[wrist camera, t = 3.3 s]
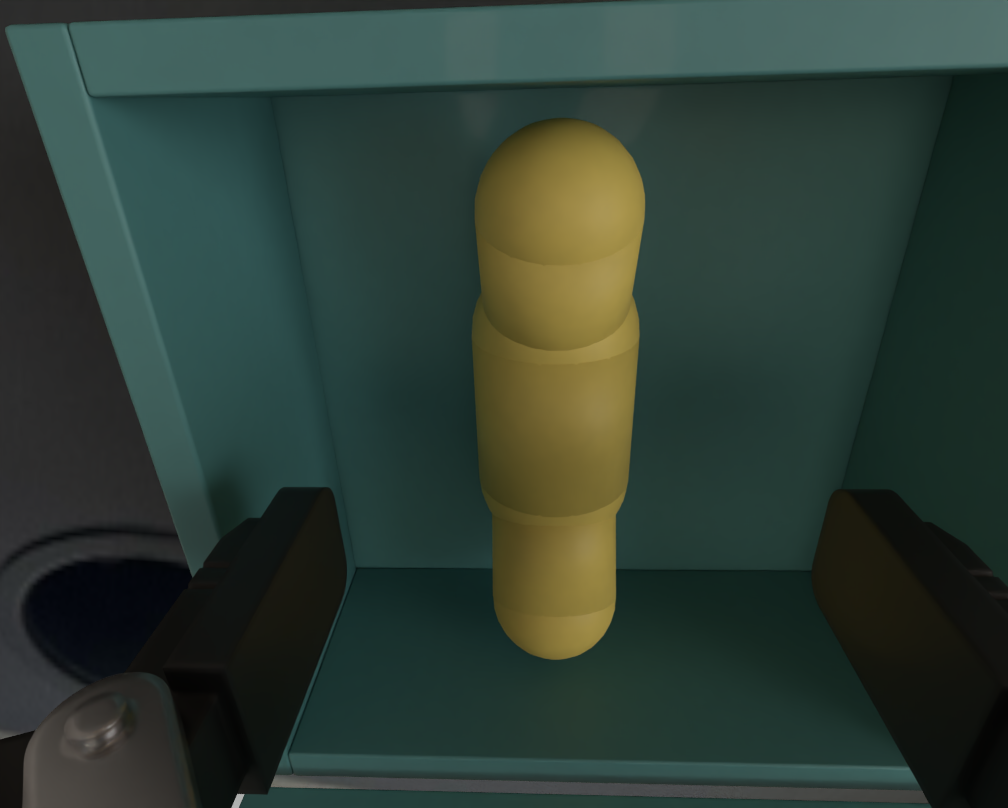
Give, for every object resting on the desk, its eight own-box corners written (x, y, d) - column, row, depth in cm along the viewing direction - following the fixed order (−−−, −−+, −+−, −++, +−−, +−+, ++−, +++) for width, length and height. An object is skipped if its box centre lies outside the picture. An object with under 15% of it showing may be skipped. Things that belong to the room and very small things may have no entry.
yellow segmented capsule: (469, 115, 13) (440, 124, 9) (639, 110, 13) (690, 116, 9) (490, 555, 18) (478, 686, 14) (609, 556, 18) (632, 689, 14)
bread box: (243, 57, 13) (-1, 23, 7) (980, 31, 12) (1407, -32, 6) (342, 568, 20) (259, 776, 14) (828, 572, 19) (967, 793, 13)
